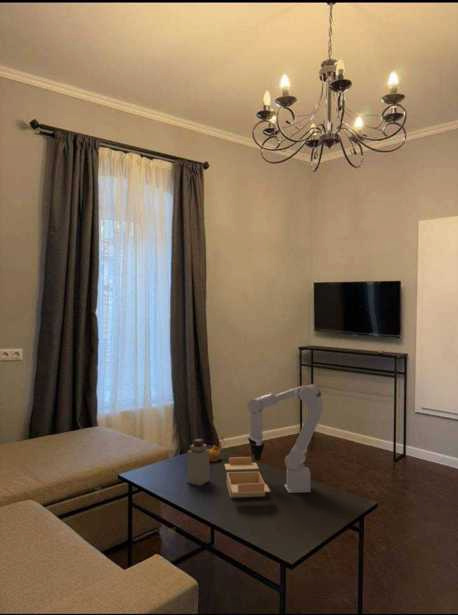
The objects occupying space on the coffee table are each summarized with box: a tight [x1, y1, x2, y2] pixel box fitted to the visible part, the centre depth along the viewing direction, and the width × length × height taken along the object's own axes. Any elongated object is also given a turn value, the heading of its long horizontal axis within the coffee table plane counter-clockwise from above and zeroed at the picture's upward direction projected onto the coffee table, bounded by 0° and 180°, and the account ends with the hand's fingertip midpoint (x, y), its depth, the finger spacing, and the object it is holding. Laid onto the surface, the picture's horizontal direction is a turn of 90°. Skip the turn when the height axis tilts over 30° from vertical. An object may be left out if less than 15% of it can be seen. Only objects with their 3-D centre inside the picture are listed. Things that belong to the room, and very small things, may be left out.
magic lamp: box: [208, 435, 226, 462], centre depth 219 cm, size 7×18×11 cm, turn 125°
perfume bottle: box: [186, 438, 210, 487], centre depth 190 cm, size 7×7×18 cm
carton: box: [226, 471, 266, 499], centre depth 181 cm, size 14×14×5 cm
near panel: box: [230, 482, 271, 493], centre depth 169 cm, size 14×7×3 cm, turn 96°
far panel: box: [224, 456, 260, 471], centre depth 194 cm, size 14×7×3 cm, turn 96°
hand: (255, 457), depth 191 cm, fingers open, 7 cm apart
